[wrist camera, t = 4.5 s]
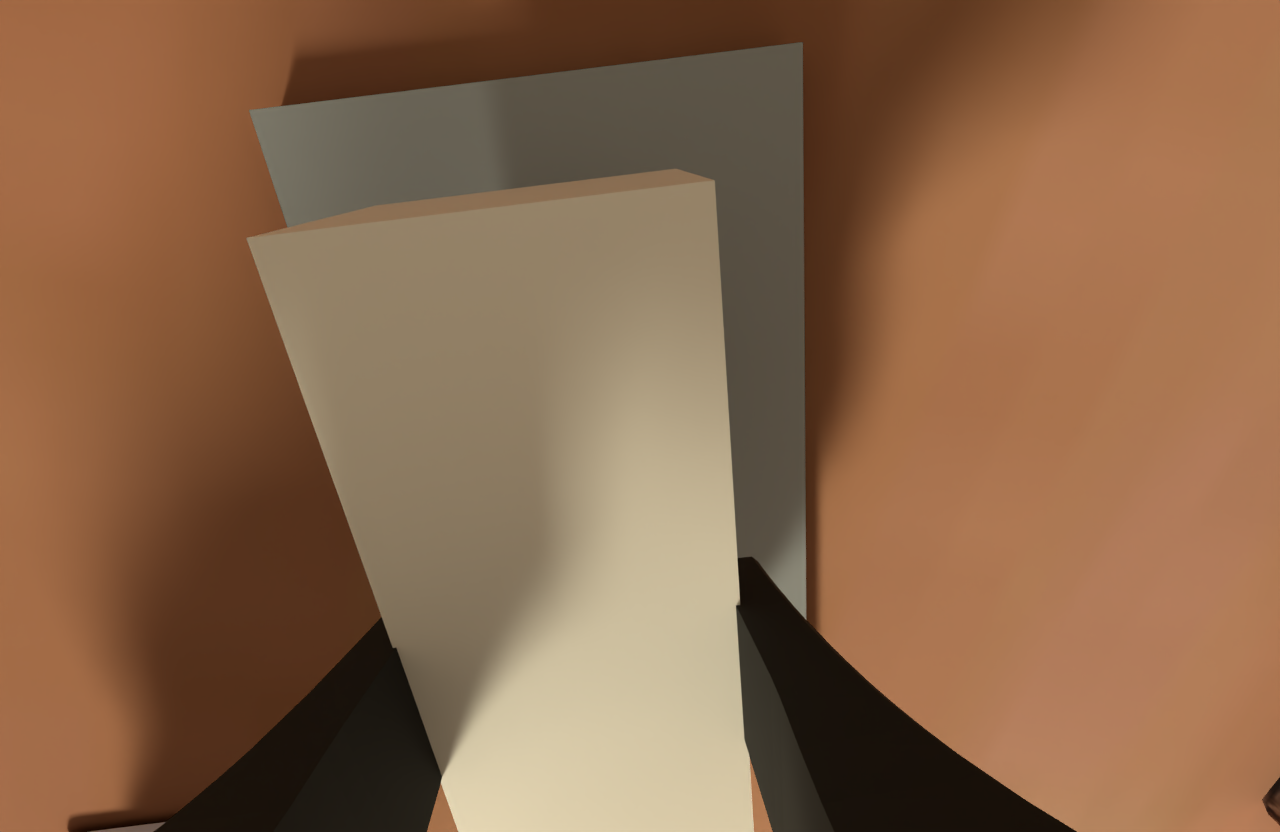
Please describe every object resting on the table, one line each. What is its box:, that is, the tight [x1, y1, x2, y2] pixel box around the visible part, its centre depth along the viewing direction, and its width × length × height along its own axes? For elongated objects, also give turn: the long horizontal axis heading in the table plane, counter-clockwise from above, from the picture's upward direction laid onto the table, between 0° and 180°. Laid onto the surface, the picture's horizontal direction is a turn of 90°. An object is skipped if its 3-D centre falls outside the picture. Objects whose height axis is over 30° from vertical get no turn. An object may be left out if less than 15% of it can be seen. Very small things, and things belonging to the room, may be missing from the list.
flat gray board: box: [249, 42, 806, 619], centre depth 15 cm, size 18×11×4 cm, turn 6°
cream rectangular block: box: [246, 169, 754, 832], centre depth 11 cm, size 14×5×4 cm, turn 6°
